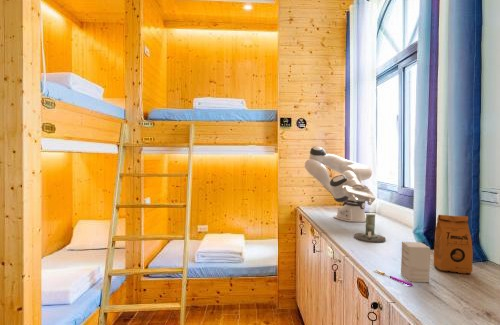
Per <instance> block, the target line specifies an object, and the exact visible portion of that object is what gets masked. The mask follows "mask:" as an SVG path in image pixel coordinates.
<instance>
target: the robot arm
mask: <svg viewBox="0 0 500 325" xmlns="http://www.w3.org/2000/svg"><path fill="white" fill-rule="evenodd" d="M327 152H328V151H326V150H325V149H324V148H323V147H321V146H318V145H317V146H312V147H311V148H310V151H309V158H308V159H307V160H306V161H305V163H304V168H305V170H306V172H308V173H309V175H311V176H312V177H313V178H314V179H315V180H317V181H318V182H319V183H320V184H321V185H322V187H324V188H325V189H326V190H327V191H328V193H330V194H331V195H332V197H333V199H334V201H335V202H337V203H345V204H344V205H343V206H341V207H340V208H338V209H337V213H336V214H335V215H334V216H333V218H334V219H336V220H337V219H338V220H341V221H346V222H348V223H349V222H354V223H355V222H356V223H361V222H362V223H366V213H365V212H366V209H365V208H366V204H367V205H368V206H371V205H372V204H373V203H374V202H375V200H376V197H375V195H374V193H373V192H372V191H371V188H370V187H368V186H366V185H365V184H363V183H362V181H366V180H368V179H370V178H371V177H372V175H373V172H372V169H371V167H369V166H367V165H364V164H361V163H358V162H355V161H353V160H349V159H347V158H346V159H345V158H344V157H341V156H338V155H336V154H332V153H327ZM327 168H329V169H330V170H333V171H334V172H337V173H339V175H336V176H334V177H332V178H331V177H330V174H329V171H328V169H327ZM366 202H367V203H366Z"/></svg>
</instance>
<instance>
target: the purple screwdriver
mask: <svg viewBox="0 0 500 325" xmlns="http://www.w3.org/2000/svg"><path fill="white" fill-rule="evenodd" d="M375 270H376V269H375ZM376 271H377V272H379V273H381V274H384V275H383V276H386V277H388V278H389V277H390V278H389V279H391V278H392V279H391V280H394V279H395V280H394V281H396V280H397V282H399V281H400V282H399V283H401V282H403V283H402V284H404V283H405V284H407V285H411V286H413V287H414V284H413V282H409V281H407V280H403V279H400V278H397V277H395V276H392V275H387V274H386V273H385V272H382V271H380V270H376ZM379 273H378V274H379ZM381 274H380V275H381ZM411 286H410V287H411Z"/></svg>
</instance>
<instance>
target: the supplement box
mask: <svg viewBox="0 0 500 325" xmlns="http://www.w3.org/2000/svg"><path fill="white" fill-rule="evenodd" d="M400 257H401V258H400V259H401V260H400V263H401V264H400V274H401V276H402V277H403V278H404V277H405V278H406V279H407V280H408V281H407V280H406V281H407V282H409V281H412V282H411V283H426V282H429V283H430V271H431V270H430V268H431V247H430V246H428V245H426V244H424V243H423V242H421V241H419V242H416V241H401V256H400ZM405 278H404V279H405Z"/></svg>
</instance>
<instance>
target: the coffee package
mask: <svg viewBox="0 0 500 325" xmlns="http://www.w3.org/2000/svg"><path fill="white" fill-rule="evenodd" d="M468 222H469V216H465V215H461V216H460V215H445V214H438V216H437V219H436V226H435V231H434V248H433V253H434V254H433V266H434V267H436V268H437V269H438V270H440V271H443V272H448V271H450V272H451V273H456V272H458V273H457V274H466V273H472V272H473V259H474V258H473V256H474V251H473V249H474V248H473V240H472V237H471V236H472V235H471V232H470V227H469V223H468Z"/></svg>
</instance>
